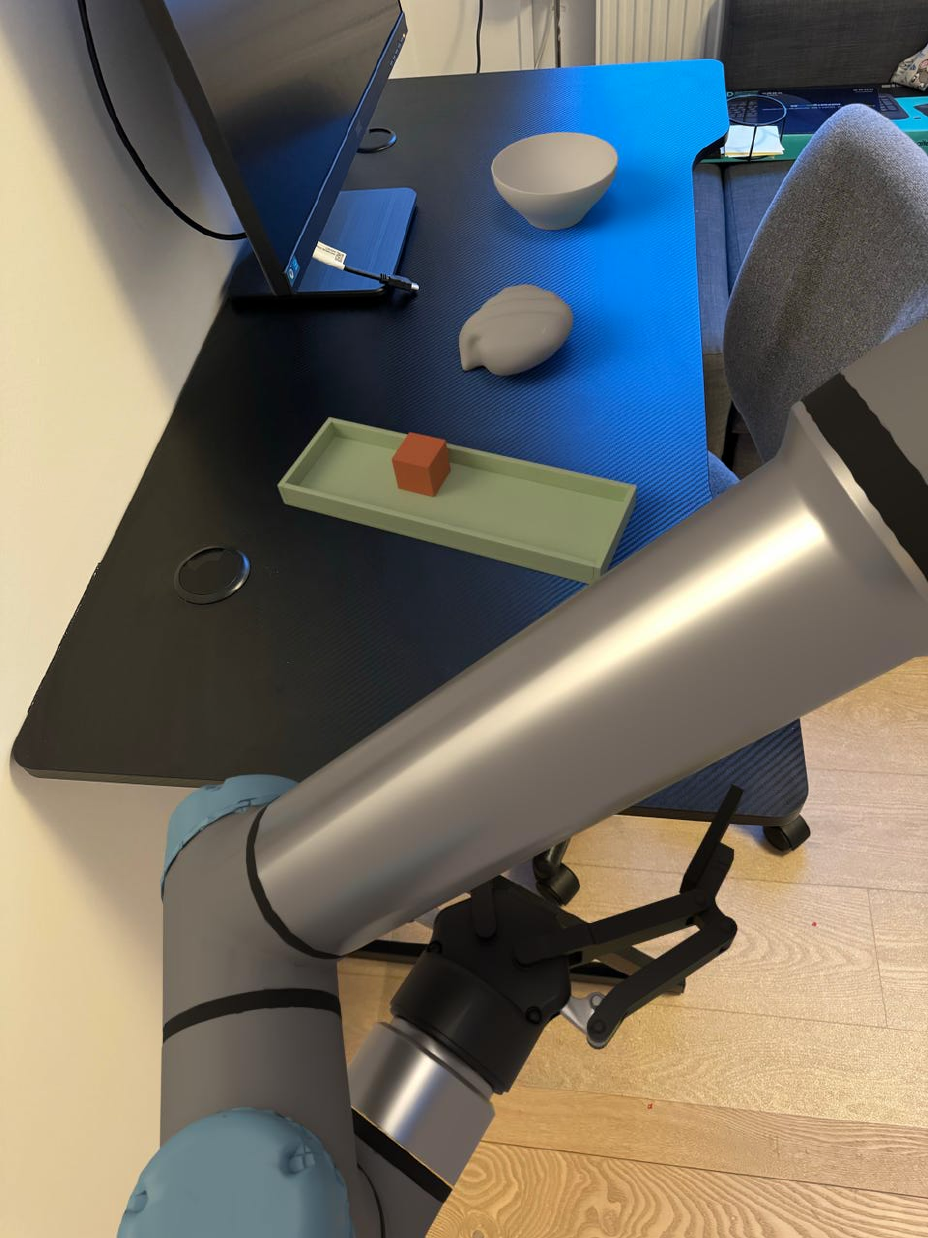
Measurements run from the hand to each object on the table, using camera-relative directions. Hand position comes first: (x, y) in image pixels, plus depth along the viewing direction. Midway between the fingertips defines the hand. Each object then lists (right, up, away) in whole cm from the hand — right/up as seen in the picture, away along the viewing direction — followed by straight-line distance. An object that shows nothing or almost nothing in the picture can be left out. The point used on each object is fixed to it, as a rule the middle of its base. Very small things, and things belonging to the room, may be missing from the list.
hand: (632, 744), depth 55 cm
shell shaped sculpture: (-5, +38, +43) cm, 58 cm away
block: (-15, +22, +32) cm, 41 cm away
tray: (-12, +19, +30) cm, 38 cm away
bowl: (+1, +61, +60) cm, 86 cm away
